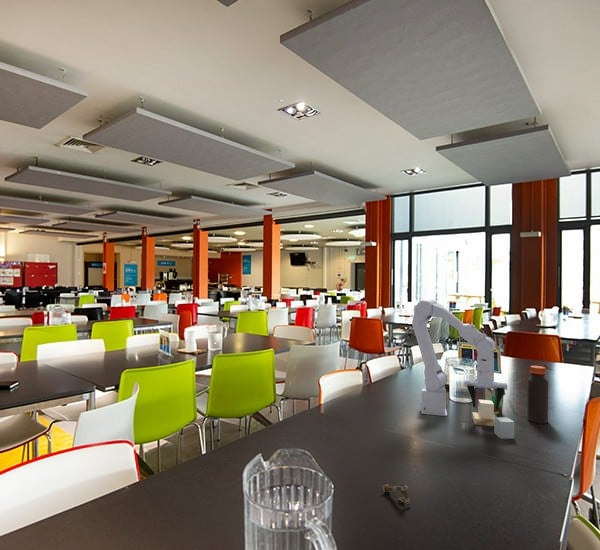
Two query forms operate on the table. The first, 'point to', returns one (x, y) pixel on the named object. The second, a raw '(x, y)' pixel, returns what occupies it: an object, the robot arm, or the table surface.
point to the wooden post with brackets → (398, 488)
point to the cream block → (486, 409)
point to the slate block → (504, 427)
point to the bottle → (537, 396)
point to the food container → (491, 396)
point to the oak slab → (482, 420)
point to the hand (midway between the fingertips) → (485, 407)
